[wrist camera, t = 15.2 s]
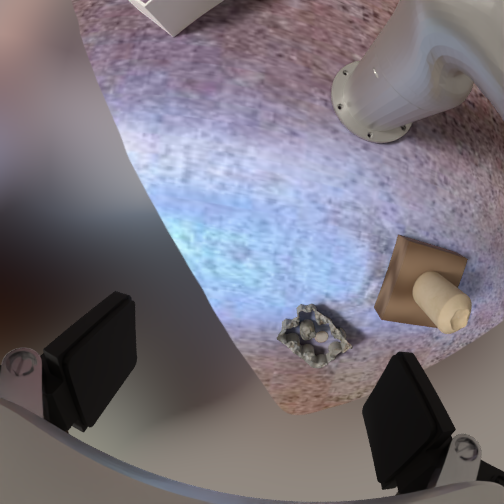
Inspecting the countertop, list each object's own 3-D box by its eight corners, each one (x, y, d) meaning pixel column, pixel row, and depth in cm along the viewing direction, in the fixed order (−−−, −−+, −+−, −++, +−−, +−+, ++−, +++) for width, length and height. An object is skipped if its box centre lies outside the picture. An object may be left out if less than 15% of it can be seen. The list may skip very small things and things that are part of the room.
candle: (429, 262, 33) (467, 290, 23) (447, 284, 33) (482, 314, 24) (405, 291, 34) (436, 326, 25) (424, 311, 35) (454, 346, 25)
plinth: (398, 234, 36) (409, 241, 32) (454, 251, 36) (467, 259, 32) (373, 307, 40) (381, 319, 36) (430, 316, 39) (440, 328, 35)
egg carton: (351, 334, 42) (356, 348, 38) (317, 360, 44) (319, 376, 40) (308, 294, 40) (311, 307, 37) (273, 325, 43) (272, 339, 39)
